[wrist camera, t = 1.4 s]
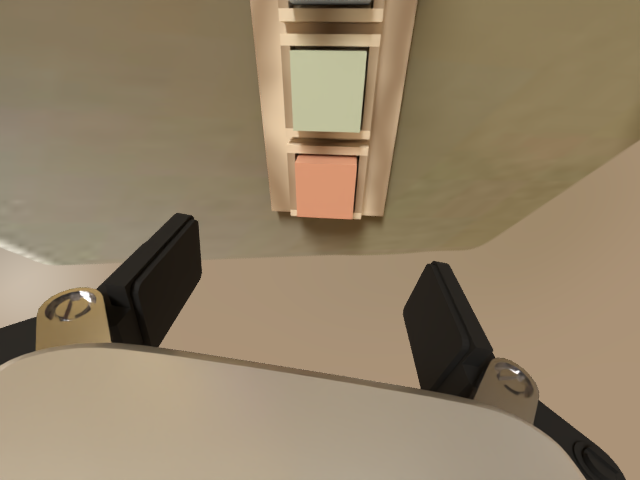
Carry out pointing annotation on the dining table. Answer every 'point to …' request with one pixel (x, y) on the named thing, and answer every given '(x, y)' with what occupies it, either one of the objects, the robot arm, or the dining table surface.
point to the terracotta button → (325, 185)
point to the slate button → (330, 2)
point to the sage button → (327, 89)
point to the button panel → (378, 96)
